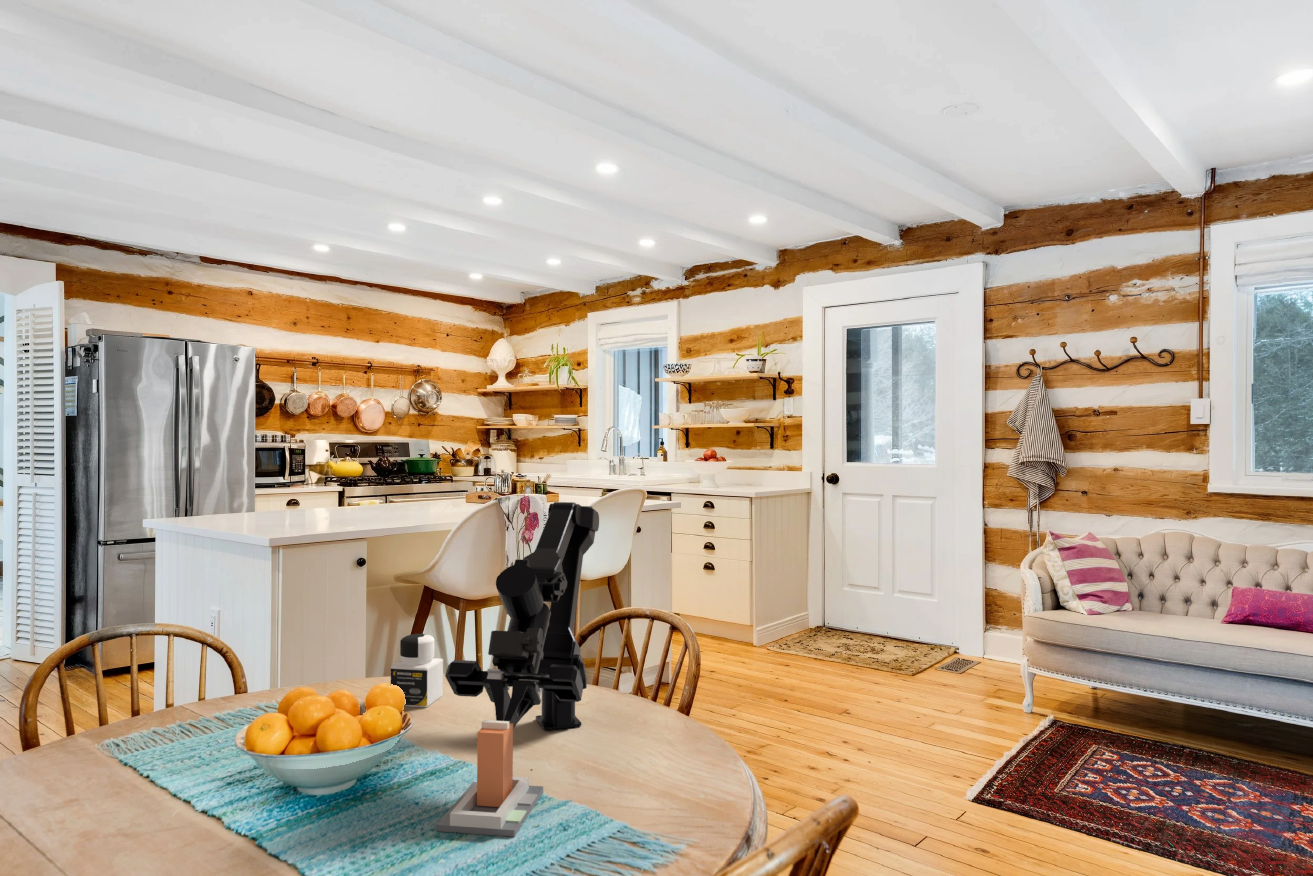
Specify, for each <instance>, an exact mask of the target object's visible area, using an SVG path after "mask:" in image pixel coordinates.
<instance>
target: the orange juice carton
mask: <svg viewBox="0 0 1313 876" xmlns="http://www.w3.org/2000/svg"><path fill="white" fill-rule="evenodd" d="M476 735H477V738H476V739H477V740H476V741H477V743H476V744H477V745H476V746H477V751H476V754H477V755H476V761H477V762H476V765H477V766H476V782H477V806H490V807H500V806H501V805H502V803H503V802H504V801H505V799H506V798H507V797H508V795H509V794H510V793H511V791H512V790H513V777H514V776H513V775H514V774H513V770H514V767H513V765H514V762H513V760H514V759H513V758H514V728H513V723H509V721H496V720H492V719H491V720H489V719H484V720H482V722H481V728H480V729H478V731H477V734H476Z"/></svg>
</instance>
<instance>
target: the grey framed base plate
mask: <svg viewBox="0 0 1313 876" xmlns="http://www.w3.org/2000/svg"><path fill="white" fill-rule="evenodd" d="M529 778H530V777H522V776H513V790H512V791H511V793H510V794H509V795H508V797H507V798H506V799H505V801H504V802H503V803H502V805H501V806H500V807H490V806H477V781H473V782H472V783H471V784H470V785H469V787H467V788H466V790H465V791H464V792H463V793H462V794H461V796H460V797H459V798H458V799H457V800H456V801H455V803H453V804H452V806H451V807H450V808H449V810H448V811H447V812H445V814H444V815H443V816H442V818H440V820H439V821H438V822H437V823H436V824H435V825H436V827H435V830H436V832H443V833H444V832H446V833H456V832H457V833H459V834H460V833H461V834H471V835H483V836H485V835H486V836H500V837H512V838H515V837H516V835H517V834H518V832H519V831H520V829H521V827H522V826H523V825H524V823H525V821H526V819H528V817H529V815H530V814H531V812H533V811H532V810H533V809H534V807H535V805H536V804H537V803H538V801H539V800H540V798H541V797H542V795H543V794H544V786H541V785H540V786H539V785H529V784H530V779H529Z"/></svg>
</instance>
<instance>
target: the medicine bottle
mask: <svg viewBox="0 0 1313 876" xmlns="http://www.w3.org/2000/svg"><path fill="white" fill-rule="evenodd" d="M399 644H400V645H399V647H400V649H399V650H400V651H399V653H400V655H399V658H400V659H399V660H401V661H399V662H397V663H395V664H393V665H391V666H390V685H391V684H393V685H397V686H399V687H400V688H401V689H402V690H403V692H404V694H405V699H406V704H405V706H404V707H413V708H428V707H429V706H430V705H433V704H434V703H435V702H436V701H437V700H440V698H441V697H443V695H444V693H443V692H444V680H443V679H444V659H443V658H441V657H439V658H437V657H435V638H434V637H433V636H432V635H430V634H428V633H415V634H414V633H412V634H409V635H406V636H404V637H402V638H401V639H400V643H399Z"/></svg>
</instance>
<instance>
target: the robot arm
mask: <svg viewBox="0 0 1313 876" xmlns="http://www.w3.org/2000/svg"><path fill="white" fill-rule="evenodd" d="M545 521H546V522H545V524H544V526H543V529H542V532H541V533H540V537H539V539H538V542H537V545H536V546H535V549H534V551H533V552H531V553H530V554H527V555H526V556H524V557H523V558H522V559H515V560H514V563H513V565H511V566H508V567H506V568H504V569H503V570H502V571H501V572H500V573H499V575H497V577H496V579H495V586H496V590H497V593H498V595H499V598H500V601H501V603H502V605H503V608H504V611H505V613H506V615H508V617H510V619H509V623H508V626H507V630H491V632H490V638H489V645H488V650H487V651H488V652H487V654H488V655H489V656H493V657H492V660H491V662H492V665H493V667H497V668H487V670H482V668H481V666H480V664H479V661H478V660H465V659H464V660H463V659H454V660H453V661H451V662H450V663H449V664H447V668H446V671H445V675H444V677H445V679H446V680H447V682H448V685H449V687H450V688H451V691H452V693H453V694H454V695H456V696H458V697H471V698H472V697H473V698H476V697H478V696H479V695H481V694H482V693H483V691H484V689H485V691H486V693H487V695H488V697H489V700H490V701H491V702H492V703H494V710H495V721H509V723H513V729H515V728H516V726H517V725H518V723H519V721H520V720H522V718H523V717H524V716H525V715H526V714H527V713H528V712H529V711H530V710H531V709H532V708H533V707H534V706H540V705H541V715H540V714H539V715H536V716H535V720H536V721H537V723H538V724H539V725H540V726H541V728H542V729H543V730H544V731H551V730H553V731H554V730H559V729H567V728H575V727H581V726H582V721H580V719H579V718H578V717H577V716H576V703H579V702H580V701H582V697H583V690H584V689H587V687H588V681H587V679H588V678H587V669H586V666H585V663H584V660H583V656H582V655H581V648H580V646H579V643H578V641H577V638H576V636H575V634H574V629H575V622H576V615H577V607H578V600H579V599H578V598H579V591H580V583H581V574H582V569H583V568H582V567H583V561H584V559H583V558H584V555H585V554H586V553H587V552H588V550H589V549H590V548H591V547H592V545H593V544H594V542H595V536H596V532H598V531H599V528H600V515H599V512H598V511H597V510H596V509H594V508H593V506H589V505H587V506H586V505H585V506H584V505H581V504H579V503H576V502H572V501H570V502H567V501H566V502H565V501H564V502H562V501H561V502H559V501H554V502H553V503H549V507H548V512H547V519H546V520H545ZM546 603H550V606H548V605H547V604H546ZM511 687H512V689H510V688H511ZM510 690H511V694H510V693H509V691H510ZM510 695H511V696H510Z"/></svg>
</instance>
